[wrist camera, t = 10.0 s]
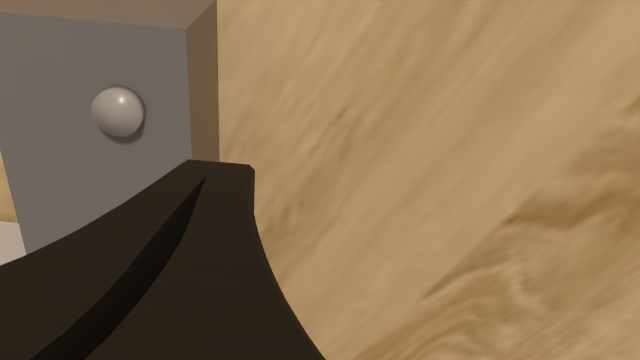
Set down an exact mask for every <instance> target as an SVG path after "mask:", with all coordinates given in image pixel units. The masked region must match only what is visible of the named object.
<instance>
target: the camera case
mask: <svg viewBox="0 0 640 360" xmlns="http://www.w3.org/2000/svg"><path fill="white" fill-rule="evenodd" d="M0 151H1V155H2V159H3V163H4V167H5V171H6V175H7V179H8V183H9V187H10V191H11V195H12V199H13V203H14V207H15V211H16V215H17V219H18V223H19V227H20V231H21V235H22V239H23V243H24V247H25V251H26V255H27V254H29V253H31V252H34V251H36V250H38V249H40V248H42V247H44V246H46V245H48V244H50V243H53V242H55V241H57V240H59V239H61V238H63V237H65V236H67V235H69V234H71V233H73V232H74V231H76V230H78V229H80V228H82V227H84V226H85V225H87V224H89V223H90V222H92V221H94V220H95V219H97V218H99V217H100V216H102V215H104V214H105V213H107V212H109V211H111V210H112V209H114V208H116V207H117V206H119V205H121V204H122V203H124V202H125V201H127V200H129V199H130V198H132V197H133V196H134V195H136V194H137V193H139V192H140V191H142V190H143V189H145V188H146V187H148V186H149V185H151V184H152V183H154V182H155V181H157V180H158V179H160V178H161V177H163V176H164V175H165V174H167V173H168V172H170V171H171V170H173V169H174V168H176V167H177V166H178V165H180V164H182V163H183V162H185V161H186V160H188V159H191V160H202V161H213V162H219V117H218V58H217V0H0Z"/></svg>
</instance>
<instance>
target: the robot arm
mask: <svg viewBox="0 0 640 360" xmlns="http://www.w3.org/2000/svg"><path fill="white" fill-rule="evenodd" d="M254 183H255V170H254V169H253V168H252V167H251V166H250V165H247V164H235V163H224V162H213V161H202V160H191V159H188V160H186V161H185V162H183V163H182V164H180V165H178V166H177V167H176V168H174V169H173V170H171V171H170V172H168V173H167V174H165V175H164V176H163V177H161V178H160V179H158V180H157V181H155V182H154V183H152V184H151V185H149V186H148V187H146V188H145V189H143V190H142V191H140V192H139V193H137V194H136V195H134V196H133V197H132V198H130V199H129V200H127V201H125V202H124V203H122V204H121V205H119V206H117V207H116V208H114V209H112V210H111V211H109V212H107V213H105V214H104V215H102V216H100V217H99V218H97V219H95V220H94V221H92V222H90V223H89V224H87V225H85V226H84V227H82V228H80V229H78V230H76V231H74V232H73V233H71V234H69V235H67V236H65V237H63V238H61V239H59V240H57V241H55V242H53V243H50V244H48V245H46V246H44V247H42V248H40V249H38V250H36V251H34V252H31V253H29V254H27V255H25V256H22V257H20V258H18V259H15V260H13V261H10V262H7V263H5V264H2V265H0V360H326V359H325V358H324V357H323V356H322V354H321V353H320V351H319V350H318V349H317V347H316V346H315V345H314V343H313V342H312V340H311V339H310V338H309V336H308V335H307V333H306V332H305V330H304V329H303V327H302V325H301V324H300V322H299V320H298V319H297V317H296V315H295V314H294V312H293V311H292V309H291V307H290V306H289V304H288V302H287V301H286V299H285V297H284V295H283V293H282V291H281V289H280V287H279V285H278V283H277V281H276V279H275V277H274V274H273V272H272V270H271V267H270V265H269V263H268V260H267V257H266V255H265V252H264V249H263V246H262V243H261V240H260V236H259V233H258V229H257V226H256V221H255V216H254Z"/></svg>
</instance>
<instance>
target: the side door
mask: <svg viewBox="0 0 640 360" xmlns="http://www.w3.org/2000/svg"><path fill="white" fill-rule="evenodd" d="M25 255H26V251H25V247H24V243H23V239H22V235H21V231H20V227H19V223H12V222H3V221H0V265H2V264H5V263H7V262H10V261H13V260H15V259H18V258H20V257H22V256H25Z"/></svg>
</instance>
